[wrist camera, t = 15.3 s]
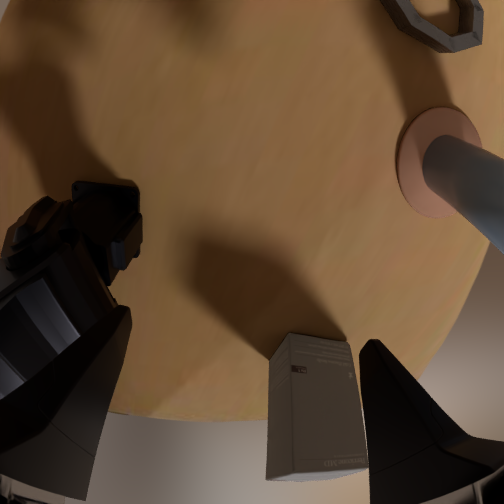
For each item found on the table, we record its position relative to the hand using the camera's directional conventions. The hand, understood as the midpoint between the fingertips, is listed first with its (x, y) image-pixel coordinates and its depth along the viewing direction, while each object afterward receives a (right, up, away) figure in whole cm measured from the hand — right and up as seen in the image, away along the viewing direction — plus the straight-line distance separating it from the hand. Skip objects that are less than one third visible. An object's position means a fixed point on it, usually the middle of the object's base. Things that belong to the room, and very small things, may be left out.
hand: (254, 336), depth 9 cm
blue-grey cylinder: (+16, +10, +8) cm, 21 cm away
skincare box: (+6, -9, +22) cm, 24 cm away
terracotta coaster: (+16, +10, +9) cm, 21 cm away
